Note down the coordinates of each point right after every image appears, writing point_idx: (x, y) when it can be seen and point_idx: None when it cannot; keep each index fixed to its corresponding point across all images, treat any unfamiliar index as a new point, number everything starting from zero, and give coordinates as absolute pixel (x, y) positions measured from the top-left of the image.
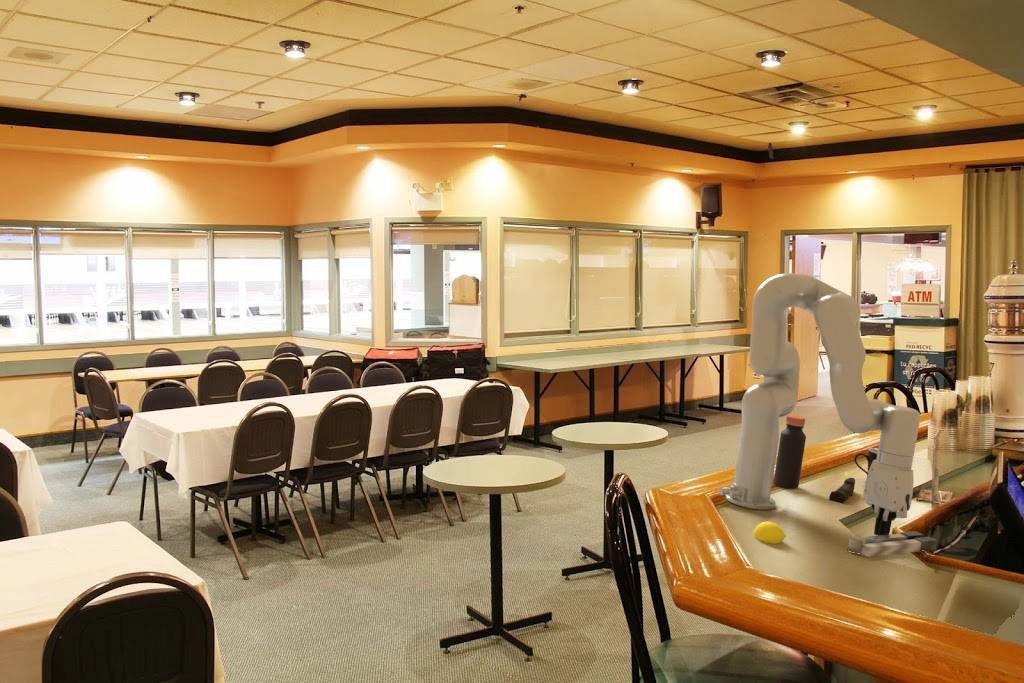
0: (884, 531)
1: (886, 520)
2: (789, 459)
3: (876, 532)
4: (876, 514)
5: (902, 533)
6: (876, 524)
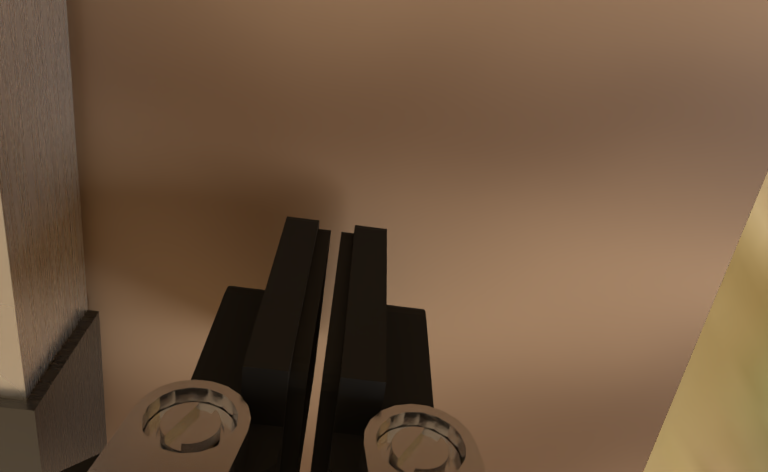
0: (234, 295)
1: (148, 399)
2: None
3: (348, 242)
4: (425, 458)
5: (1, 404)
6: (361, 303)
